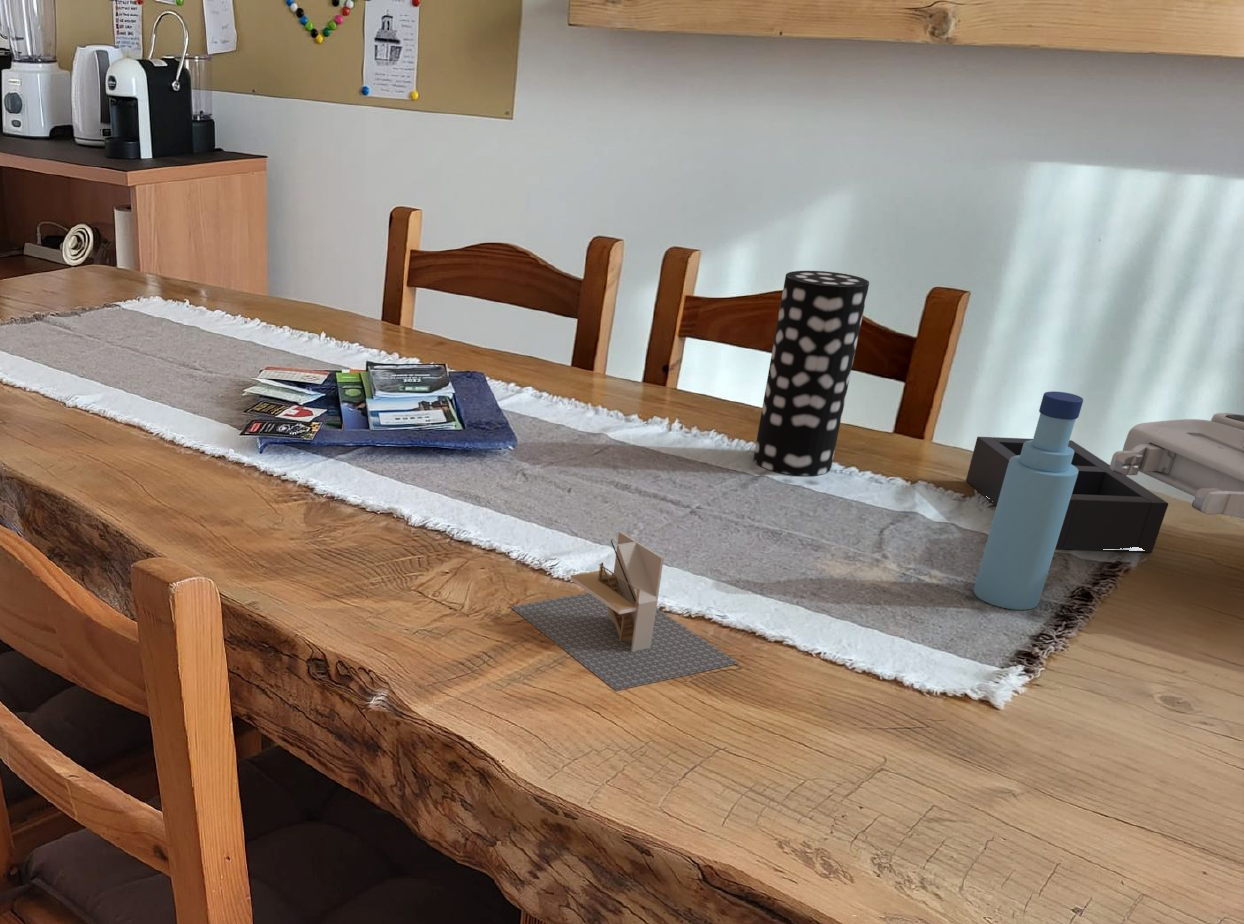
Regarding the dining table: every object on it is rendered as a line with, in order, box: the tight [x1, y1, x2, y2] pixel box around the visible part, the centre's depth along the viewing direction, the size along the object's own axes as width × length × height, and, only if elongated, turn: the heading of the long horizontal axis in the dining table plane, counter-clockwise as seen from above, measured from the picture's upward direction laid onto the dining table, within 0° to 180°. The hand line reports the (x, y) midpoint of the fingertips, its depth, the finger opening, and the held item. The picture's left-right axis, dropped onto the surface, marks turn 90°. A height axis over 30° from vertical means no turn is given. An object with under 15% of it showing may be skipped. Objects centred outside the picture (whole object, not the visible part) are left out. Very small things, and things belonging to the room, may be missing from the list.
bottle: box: [973, 390, 1084, 611], centre depth 104 cm, size 5×5×18 cm
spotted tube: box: [752, 270, 870, 477], centre depth 134 cm, size 8×8×20 cm
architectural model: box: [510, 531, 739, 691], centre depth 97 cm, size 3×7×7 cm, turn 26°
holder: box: [965, 436, 1169, 554], centre depth 126 cm, size 10×19×5 cm, turn 0°
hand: (1156, 481), depth 105 cm, fingers open, 8 cm apart
